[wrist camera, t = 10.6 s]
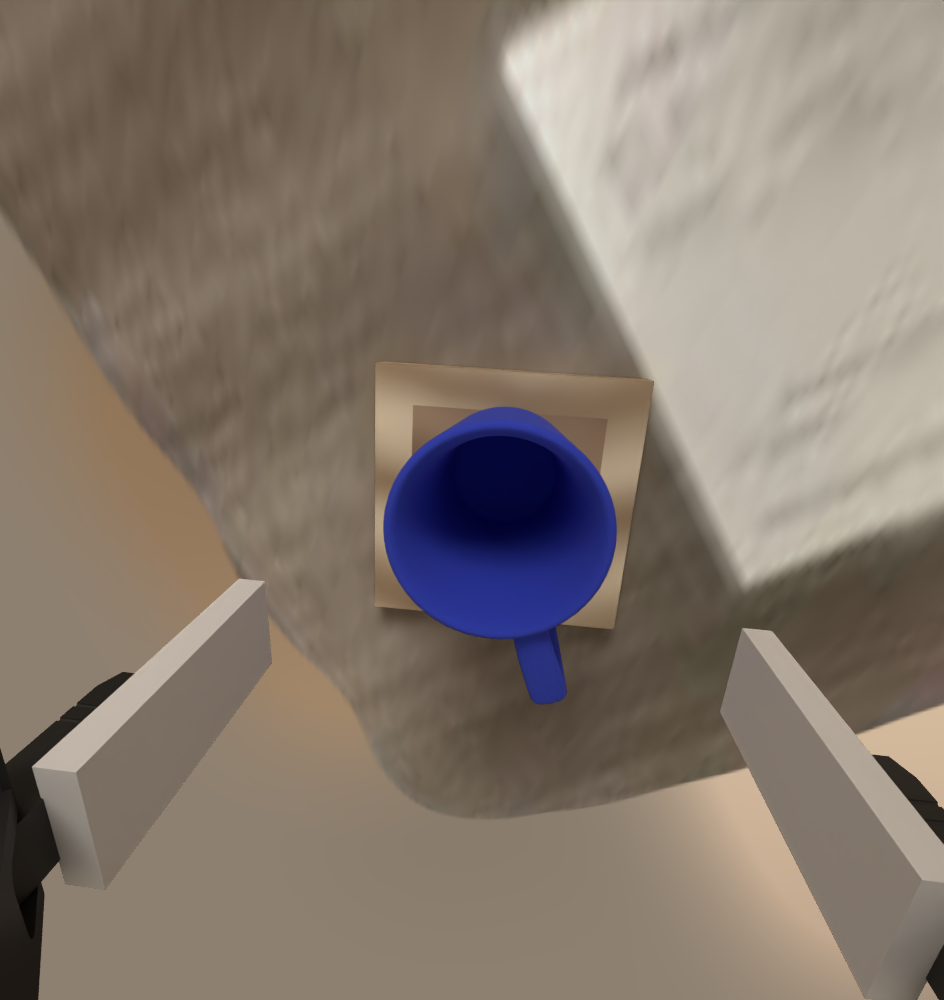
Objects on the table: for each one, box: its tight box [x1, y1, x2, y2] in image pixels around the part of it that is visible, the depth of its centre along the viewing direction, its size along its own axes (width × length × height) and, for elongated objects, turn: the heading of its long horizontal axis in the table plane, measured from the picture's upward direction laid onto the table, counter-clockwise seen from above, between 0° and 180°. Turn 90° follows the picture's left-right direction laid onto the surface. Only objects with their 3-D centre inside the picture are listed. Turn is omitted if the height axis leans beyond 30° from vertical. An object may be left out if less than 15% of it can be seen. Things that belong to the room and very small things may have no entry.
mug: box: [383, 407, 617, 704], centre depth 23 cm, size 8×12×10 cm
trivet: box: [375, 361, 654, 629], centre depth 29 cm, size 14×14×2 cm
